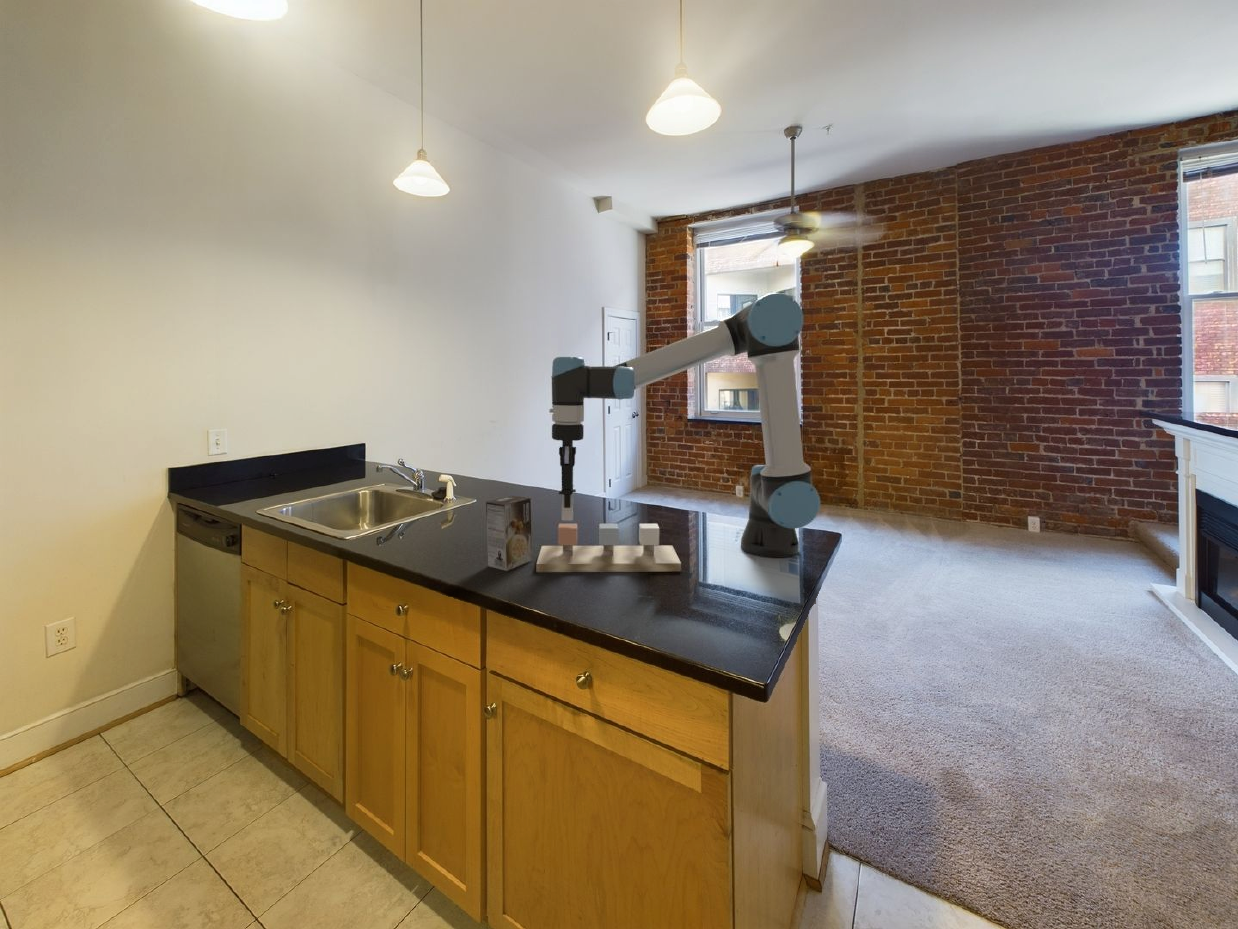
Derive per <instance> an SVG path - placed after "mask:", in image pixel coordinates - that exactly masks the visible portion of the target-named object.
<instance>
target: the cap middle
mask: <svg viewBox="0 0 1238 929" xmlns="http://www.w3.org/2000/svg"><path fill="white" fill-rule="evenodd" d="M598 525H599V526H598V527H599V529H598V530H599V531H598V532H599V534H598V536H599V538H598V540H599V541H598V543H599V545H598V546H604V545H614V546H619V525H618V523H599V524H598Z"/></svg>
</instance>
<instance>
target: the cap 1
mask: <svg viewBox="0 0 1238 929" xmlns="http://www.w3.org/2000/svg"><path fill="white" fill-rule="evenodd" d="M563 545H573V546H578V523H559V524H558V528H557V546H563Z"/></svg>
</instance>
